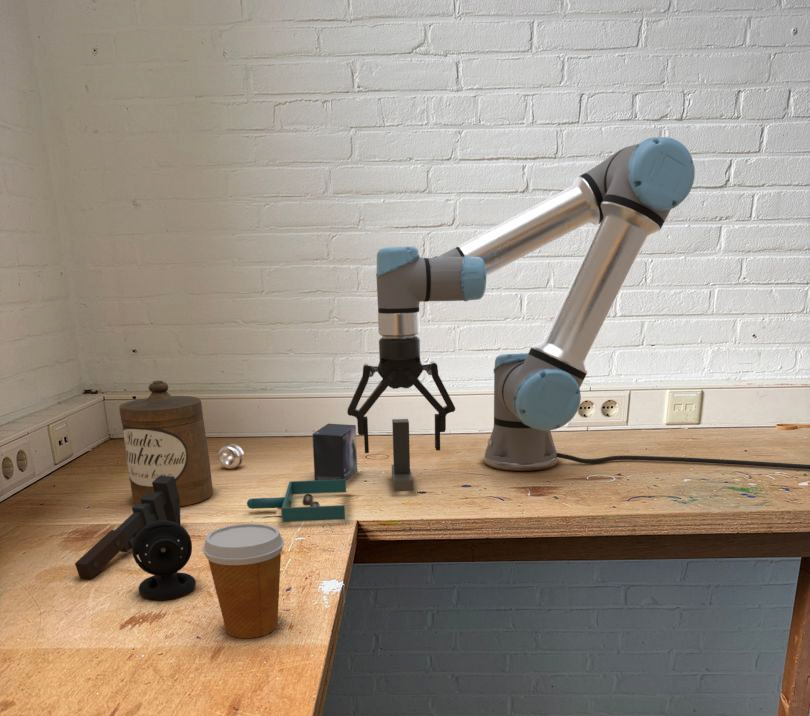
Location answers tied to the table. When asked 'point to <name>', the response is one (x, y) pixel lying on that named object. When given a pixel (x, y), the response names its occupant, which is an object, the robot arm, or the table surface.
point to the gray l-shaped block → (401, 456)
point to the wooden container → (166, 444)
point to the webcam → (163, 559)
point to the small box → (335, 452)
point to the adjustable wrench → (133, 526)
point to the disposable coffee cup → (246, 576)
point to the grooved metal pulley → (226, 456)
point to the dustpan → (305, 512)
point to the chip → (307, 499)
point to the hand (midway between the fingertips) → (402, 450)
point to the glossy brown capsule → (314, 504)
